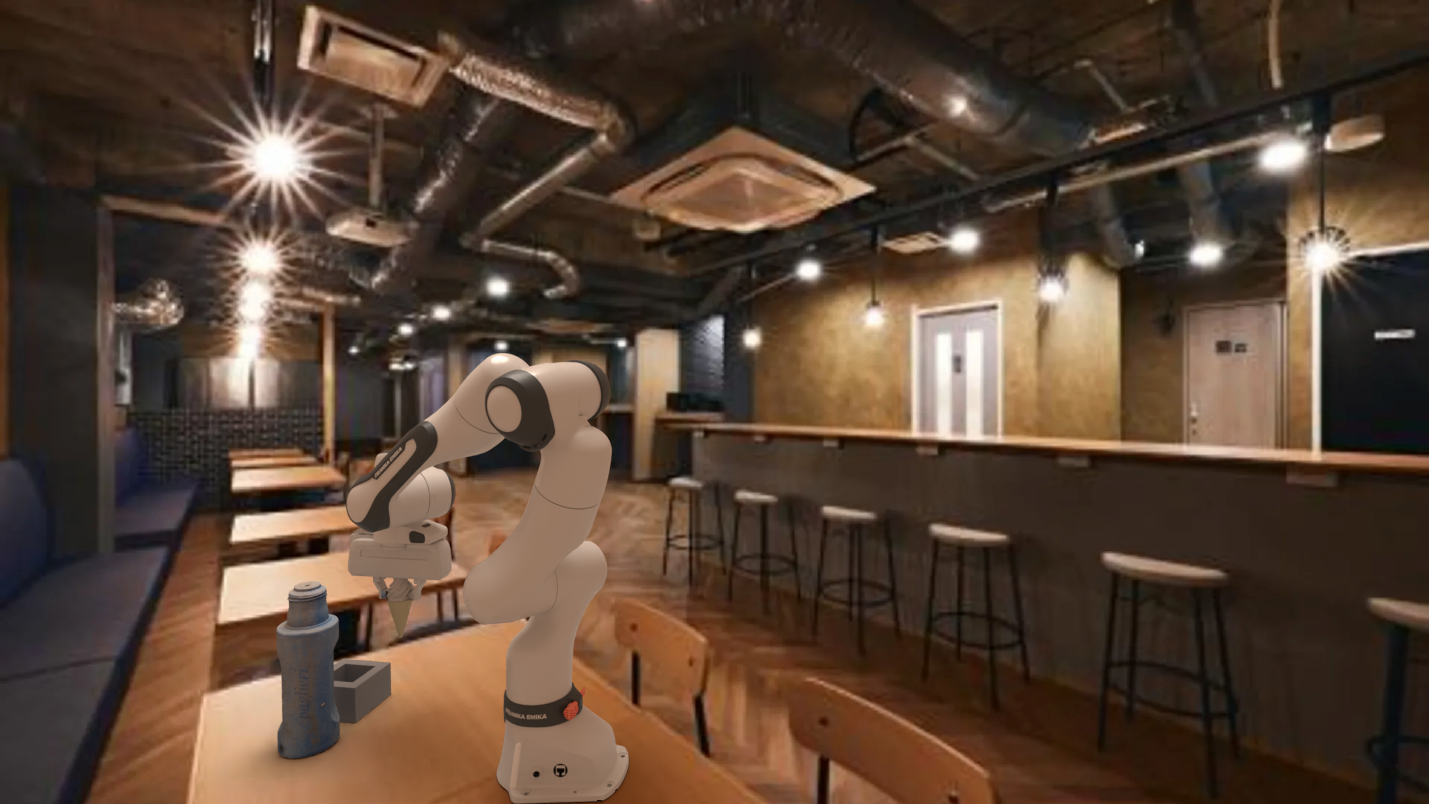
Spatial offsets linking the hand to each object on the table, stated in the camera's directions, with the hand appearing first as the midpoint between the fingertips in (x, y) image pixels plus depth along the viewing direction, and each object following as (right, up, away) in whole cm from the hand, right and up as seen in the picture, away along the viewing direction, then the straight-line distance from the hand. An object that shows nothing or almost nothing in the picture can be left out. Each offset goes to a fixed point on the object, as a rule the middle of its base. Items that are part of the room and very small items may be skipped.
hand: (400, 598), depth 127 cm
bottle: (-12, -24, -9) cm, 29 cm away
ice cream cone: (0, -8, 0) cm, 8 cm away
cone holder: (-13, -23, +4) cm, 27 cm away
